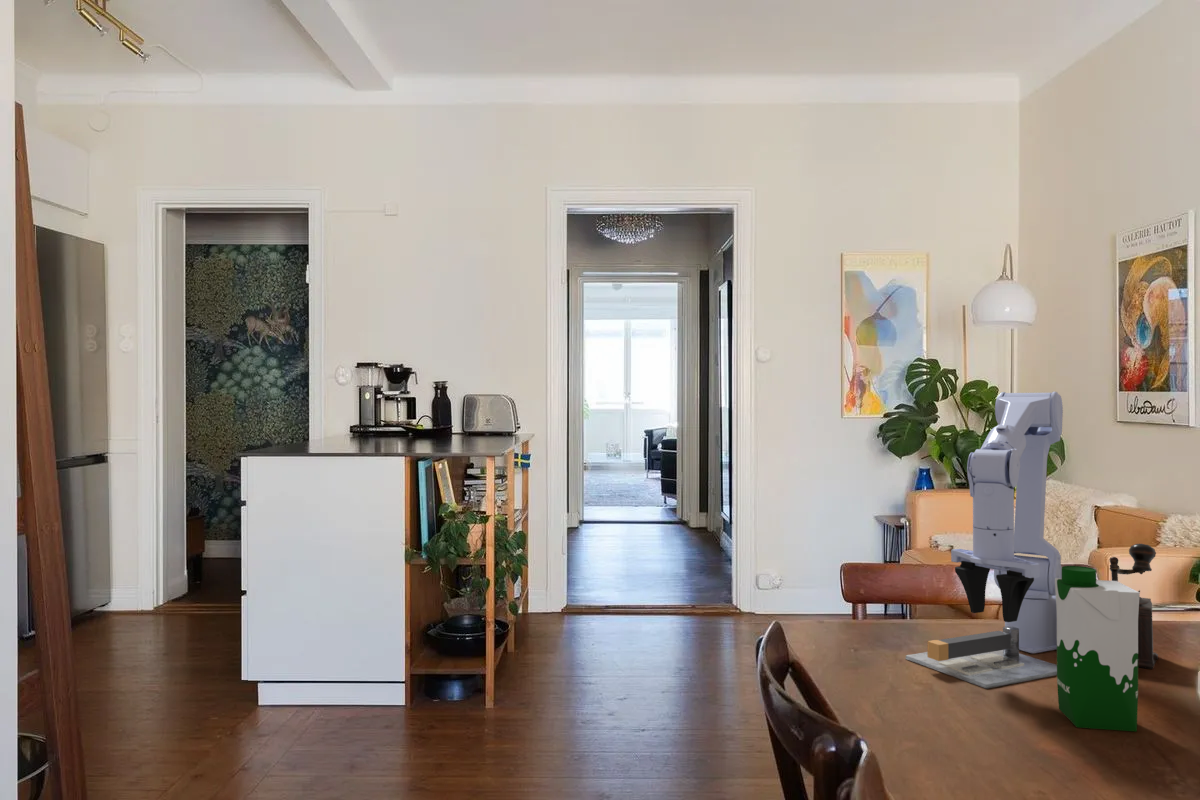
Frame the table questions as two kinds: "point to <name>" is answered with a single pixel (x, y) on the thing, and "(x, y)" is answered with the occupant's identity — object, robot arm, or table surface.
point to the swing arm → (968, 645)
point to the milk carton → (1097, 650)
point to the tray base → (992, 665)
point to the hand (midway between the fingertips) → (993, 616)
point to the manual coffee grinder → (1141, 603)
